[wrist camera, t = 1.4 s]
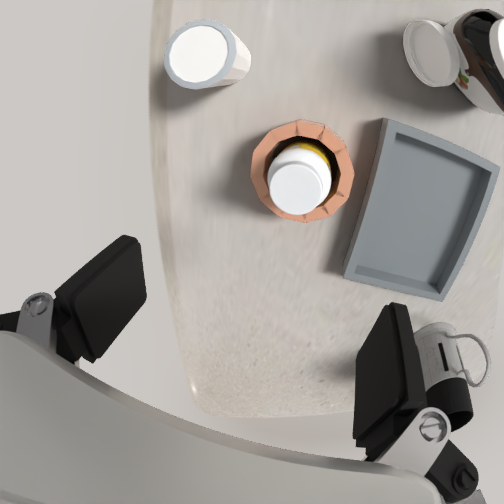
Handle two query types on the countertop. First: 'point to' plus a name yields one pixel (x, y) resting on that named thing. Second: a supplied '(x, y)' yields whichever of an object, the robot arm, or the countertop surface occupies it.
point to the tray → (418, 212)
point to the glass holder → (447, 372)
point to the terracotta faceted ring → (312, 130)
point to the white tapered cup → (206, 55)
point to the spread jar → (461, 56)
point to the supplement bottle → (300, 177)
